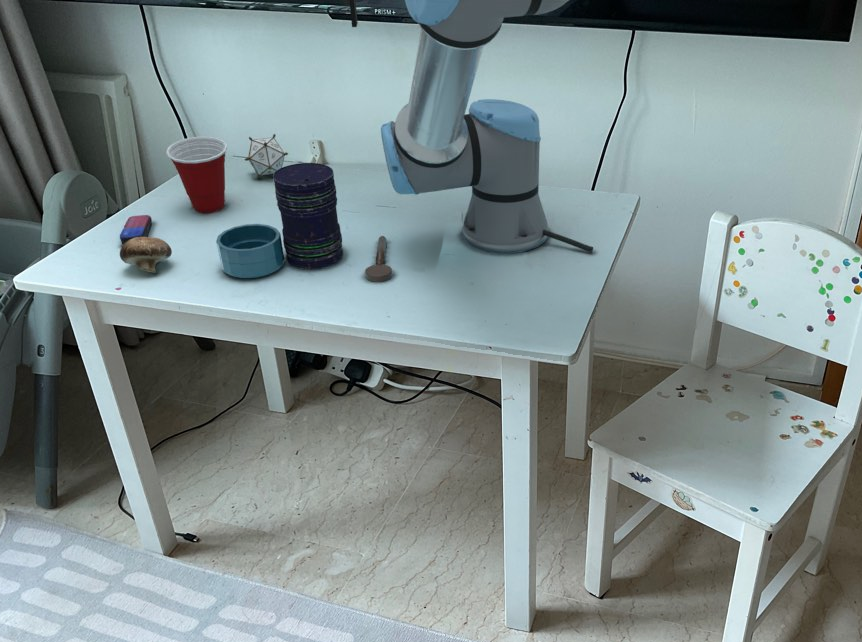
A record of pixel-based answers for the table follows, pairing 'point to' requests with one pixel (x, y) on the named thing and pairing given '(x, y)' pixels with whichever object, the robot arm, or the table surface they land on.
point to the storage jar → (309, 215)
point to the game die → (265, 156)
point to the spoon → (379, 264)
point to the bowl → (250, 250)
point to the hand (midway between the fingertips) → (394, 24)
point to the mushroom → (145, 252)
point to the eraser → (136, 227)
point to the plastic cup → (201, 171)
